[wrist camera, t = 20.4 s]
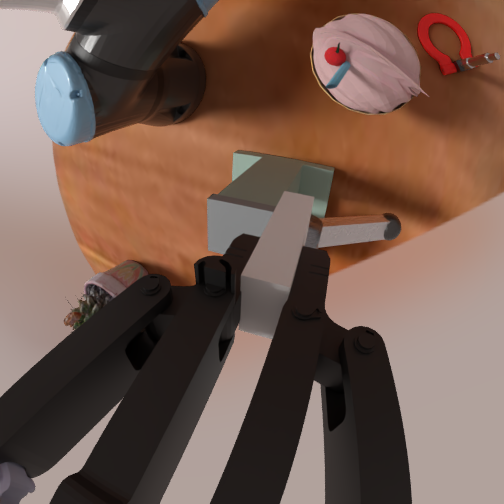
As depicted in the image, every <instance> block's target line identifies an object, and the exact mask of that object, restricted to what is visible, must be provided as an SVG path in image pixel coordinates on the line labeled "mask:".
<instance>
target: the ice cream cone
mask: <svg viewBox="0 0 504 504" xmlns="http://www.w3.org/2000/svg"><path fill="white" fill-rule="evenodd" d="M310 58H311V65H312V72H313V73H314V75H315V77H316V79H317V81H318V83H319V86H320V87H321V88H322V89H323V90H324V91H325V93H326V94H327V95H328V96H329V97H330V98H331V99H332V100H333V101H335V102H336V103H338V104H340V105H341V106H343V107H345V108H346V109H348V110H350V111H354V112H358V113H361V114H365V115H385V114H387V113H390V112H393V111H396V110H398V109H401V108H402V107H403V106H404V105H405V104H407V103H408V102H409V101H410V100H411V99H412V98H413V97H414V96H417V97H418V94H419V93H420V91H421V92H422V93H424V94H426V93H425V92H424V91H423V90H422V89H421V88H420V76H421V65H420V62H419V58H418V55H417V52H416V50H415V48H414V46H413V45H412V43H411V42H410V40H409V39H408V38H407V36H406V35H405V34H404V33H403V32H402V31H400V30H399V29H398V28H397V27H396V26H394V25H393V24H392V23H390V22H388V21H386V20H383V19H381V18H378V17H376V16H373V15H368V14H357V13H353V14H348V15H343V16H338V17H336V18H335V19H333V20H331V21H330V22H328V23H327V24H325V25H324V26H323V27H322V28H316V29H315V30H314V32H313V44H312V48H311V53H310ZM426 95H427V94H426ZM427 96H428V95H427Z"/></svg>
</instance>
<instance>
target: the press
mask: <svg viewBox="0 0 504 504" xmlns="http://www.w3.org/2000/svg"><path fill="white" fill-rule="evenodd" d="M333 174H334V167H329V166H325V165H320V164H316V163H311V162H306V161H301V160H296V159H290V158H285V157H279V156H274V155H268V154H261V153H255V152H248V151H241V150H238V151H236V152H234V153H233V172H232V183H230V184H229V185H228V186H227V187H226V188H225V189H223V190H222V191H221V192H220V193H219V194H218V195H217V194H212V195H211V196H210V197H209V198H207V216H208V250H209V251H213V252H217V253H220V254H225V252H226V250H227V249H228V248H229V246H230V244H231V243H232V241H233V240H234V239H235V238H236V237H238V236H239V235H241V234H243V233H244V234H249V235H253V236H258V237H261V235H262V233H263V232H264V230H265V228H266V226H267V224H268V222H269V220H270V218H271V216H272V214H273V212H274V210H275V208H276V206H277V204H278V203H279V201H280V199H281V197H282V195H283V193H284V191H288V192H293V193H298V194H303V195H307V196H312V197H314V201H313V207H312V212H311V214H312V215H314V216H316V217H318V218H324V217H325V212H326V208H327V203H328V198H329V194H330V189H331V184H332V179H333Z"/></svg>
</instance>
